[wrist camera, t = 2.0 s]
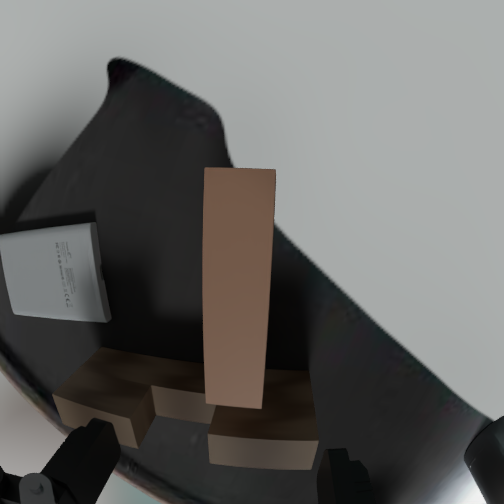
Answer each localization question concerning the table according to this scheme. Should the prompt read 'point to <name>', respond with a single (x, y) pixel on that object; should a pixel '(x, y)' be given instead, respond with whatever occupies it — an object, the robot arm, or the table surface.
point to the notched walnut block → (194, 408)
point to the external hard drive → (56, 273)
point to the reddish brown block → (236, 282)
